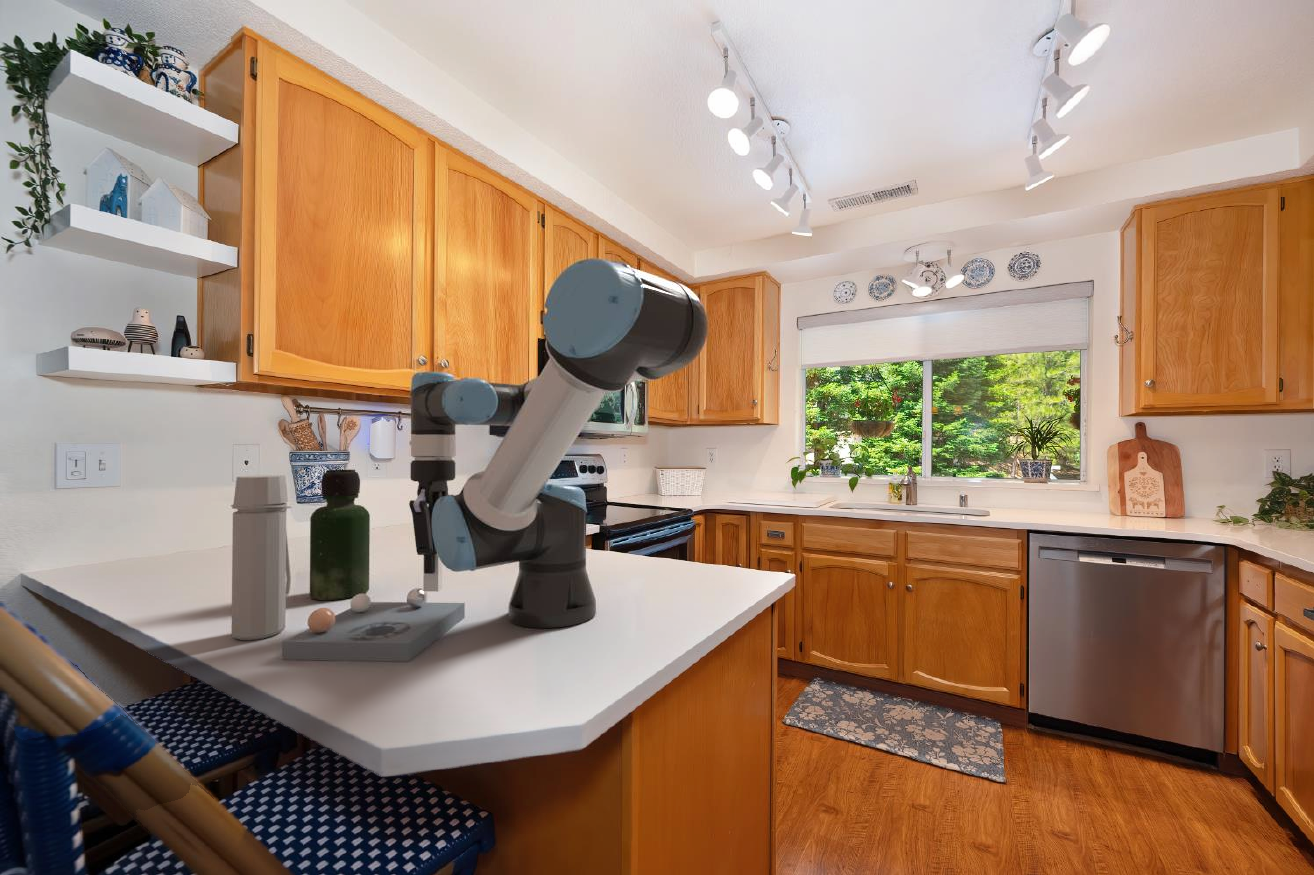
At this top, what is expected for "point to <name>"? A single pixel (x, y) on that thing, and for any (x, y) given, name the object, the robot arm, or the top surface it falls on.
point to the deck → (376, 633)
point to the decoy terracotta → (321, 620)
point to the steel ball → (417, 598)
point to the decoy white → (360, 603)
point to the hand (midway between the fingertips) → (432, 590)
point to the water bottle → (259, 557)
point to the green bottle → (339, 540)
